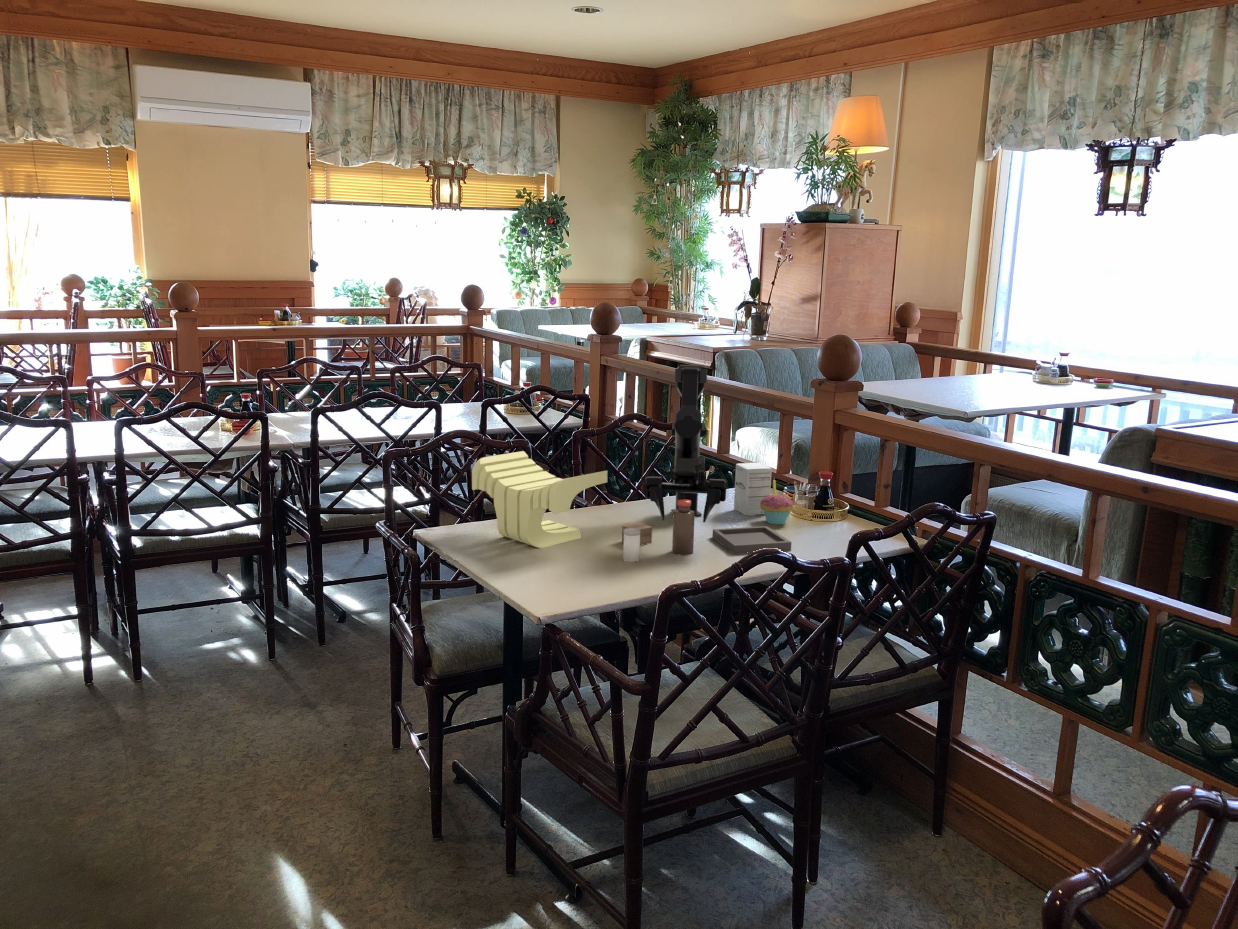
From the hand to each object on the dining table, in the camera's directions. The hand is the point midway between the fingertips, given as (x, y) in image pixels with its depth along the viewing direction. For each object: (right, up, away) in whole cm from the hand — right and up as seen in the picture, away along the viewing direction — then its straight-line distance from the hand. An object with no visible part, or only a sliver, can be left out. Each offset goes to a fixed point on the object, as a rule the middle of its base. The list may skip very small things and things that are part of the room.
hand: (683, 520), depth 219 cm
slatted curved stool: (-34, -5, +11) cm, 36 cm away
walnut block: (-10, -6, +9) cm, 15 cm away
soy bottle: (0, -7, +2) cm, 8 cm away
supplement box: (+21, 0, +39) cm, 44 cm away
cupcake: (+25, -2, +29) cm, 39 cm away
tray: (+16, -6, +9) cm, 20 cm away
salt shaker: (-12, -8, -4) cm, 15 cm away
